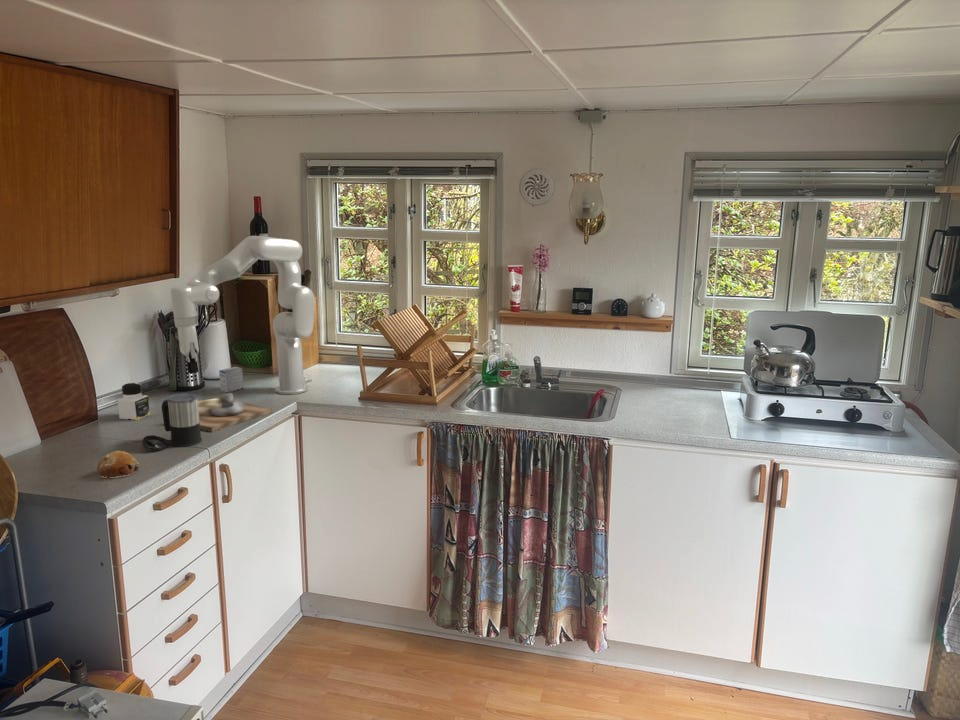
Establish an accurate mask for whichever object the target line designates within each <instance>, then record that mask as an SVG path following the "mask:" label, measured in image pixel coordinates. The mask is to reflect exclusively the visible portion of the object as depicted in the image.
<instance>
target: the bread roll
mask: <svg viewBox="0 0 960 720" xmlns="http://www.w3.org/2000/svg"><path fill="white" fill-rule="evenodd" d="M139 465H140V463H139V462H138V461H137V458H136V457H134V456H133V455H132V454H131V453H128V452H126V451H125V450H124V451H122V450H115V451H112V452H109V453H107V454H106V455H104V456H103V457H102V458H101V459H99V461H98V464H97V467H96V471H97V475H98V476H99V475H100V476H104V477H106V476H107V477H116V476H123V475H128V474H131V473H133V472H135V471H136V472H138V469H139ZM136 472H135V473H136ZM100 476H99V477H100Z"/></svg>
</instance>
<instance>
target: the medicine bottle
mask: <svg viewBox="0 0 960 720" xmlns="http://www.w3.org/2000/svg"><path fill="white" fill-rule="evenodd" d="M121 392H122V397H121V398H118V399H117V409H118V417H119V419H120V420H128V419H131V421H139V420H140V418H141V419H143V418H145V417H148V416H150V414H151V413H150V404H149V396H148V395H143V393H142V385H141V383H138V382H129V383H125V384H123V385H122V386H121Z"/></svg>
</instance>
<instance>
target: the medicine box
mask: <svg viewBox="0 0 960 720" xmlns="http://www.w3.org/2000/svg"><path fill="white" fill-rule="evenodd" d="M218 374H219V384H220V385H219V387H220V391H221V392H222V391H225V392H224V393H226V392H228V393H230V392H229V391H231V392H234V391H233V390H235V391H238V390H237V389H239V390H242V389H241V388H243V389H244V379H243V378H244V376H243V368H241V367H238V366H233V367H228V368H224V369H220V370H218Z"/></svg>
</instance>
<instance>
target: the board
mask: <svg viewBox="0 0 960 720" xmlns="http://www.w3.org/2000/svg"><path fill="white" fill-rule="evenodd" d="M244 403H245V402H244ZM271 413H272V408H271V407H267V406H262V405H261V406H260V405H256V404H250V403H245V411H244V412H242V413H240V414H236V415H230V416H214V415H211V414H210V413H209V409H208V410H202V411H199V424H200V430H201V429H204V430H203V431H206V430H208V431H207V432H210V431H213V432H216V431H219V430H222V429H221V428H223V429H225V428H224V427H226V428H228V427H227V426H229V427H231V426H230V425H232V426H234V425H233V424H235V425H237V424H236V423H238V424H240V423H239V422H241V423H243V422H242V421H244V422H246V421H245V420H247V421H249V420H248V419H250V420H252V418H253V419H256V418H259V417H262V416H265V415H269V414H271ZM258 416H259V417H258ZM255 417H256V418H255ZM218 429H219V430H218ZM215 430H216V431H215Z"/></svg>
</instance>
